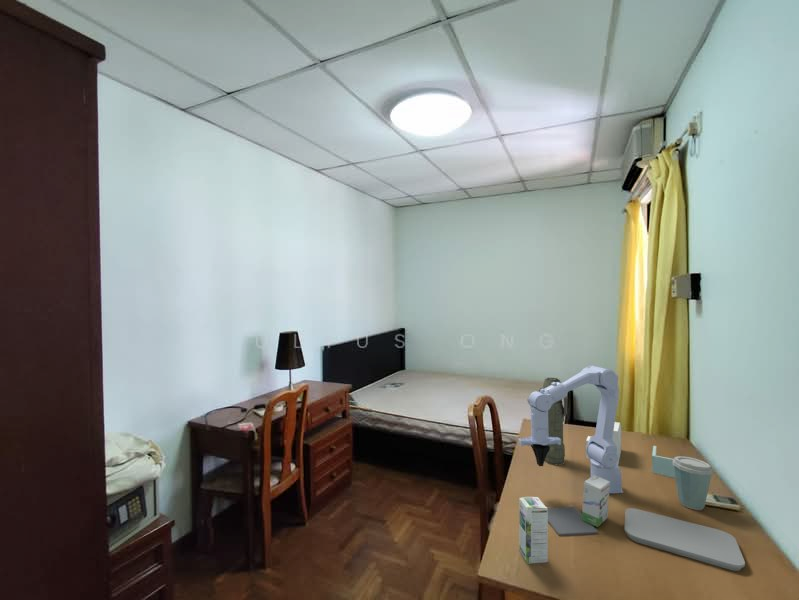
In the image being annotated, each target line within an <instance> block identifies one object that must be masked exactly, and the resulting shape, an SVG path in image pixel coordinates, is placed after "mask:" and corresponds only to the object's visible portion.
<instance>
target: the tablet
mask: <svg viewBox="0 0 799 600" xmlns="http://www.w3.org/2000/svg"><path fill="white" fill-rule="evenodd" d="M624 532H625V534H626V535H627V537H628V538H629V539H630V540H632V541H634V542H635V543H639V544H640V545H645V546H648V547H652V548H655V549H659V550H661V551H666V552H669V553H672V554H674V555H675V554H676V555H679V556H683V557H686V558H689V559H693V560H695V561H699V562H702V563H706V564H709V565H712V566H716V567H719V568H723V569H727V570H728V571H729V570H730V571H734V572H738V571H741V570H742V568H744V567H745V566H746V562H745V559H744V557H743V556H744V555H743V554H742V551H741V548H740V547H739V544H738V542H737V539H736V538H735V537H734V536H733V535H732V534H730V533H728V532H727V531H723V530H720V529H718V528H713V527H709V526H705V525H701V524H697V523H693V522H689V521H685V520H682V519H679V518H678V519H677V518H673V517H670V516H666V515H662V514H658V513H655V512H650V511H646V510H641V509H638V508H633V507H632V508H631V507H630V508H627V509H625V513H624Z"/></svg>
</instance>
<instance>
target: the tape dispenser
mask: <svg viewBox="0 0 799 600" xmlns="http://www.w3.org/2000/svg"><path fill="white" fill-rule="evenodd" d="M621 425H622V424H621V422H618V421H617V422H616V421H615V424H614V430H613V437H612V440H613V442H614V443H615V445H616V447H617V455H618V462H617V465H618V466H619V463H620V462H619V461H620V459H621V454H622V426H621ZM590 437H592V436H589V435H587V438H586V440H585V443H586V444H585V447H586V446H587V444H588V443H589V440H590ZM585 454H586V459H587V460H590V457H589V456H588V455H587V453H586V452H585Z"/></svg>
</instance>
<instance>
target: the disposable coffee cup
mask: <svg viewBox="0 0 799 600" xmlns="http://www.w3.org/2000/svg"><path fill="white" fill-rule="evenodd" d="M672 459H673V461H672V463H673V466H674V472H675V478H674V479H675V485H676V489H677V490H676V491H677V498H678V502H679V504H681V506H683V507H686V508H688V509H691V510H695V511H702V510H703V509H704V507H706V502H707V497H708V492H709V488H710V483H711V478H712V475H713V474H714V469H713V467H712V466H711V465H710V464H709V463H707V462H705V461H703V460H701V459H697V458H695V457H689V456H679V455H678V456H675V457H674V458H672Z"/></svg>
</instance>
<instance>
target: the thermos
mask: <svg viewBox="0 0 799 600" xmlns="http://www.w3.org/2000/svg"><path fill="white" fill-rule="evenodd" d="M553 382H555V383H556V382H559V383H562V381H561V380H560V379H559V378H558V377H557V378H556V377H546V378H545V379H544V381H543V384H542V387H540V389H544V388H546V387H548V386H550V385H552V384H551V383H553ZM540 389H539V390H538V392H539V391H540ZM568 399H569V397H568V394H567V396H566V397H565V398H563V399H561V400H559V401H557V402H555V403H553V404H552V406H551V408H550V409H549V410H548V437H558V438H560V439H561V445H558V444H548V446H549V447H550V450H549V452H548V453H547V455H546V458H545V461H544V463H546V462H547V464H549V463H550V464H549V465H553V464H557V465H556V466H559V464H562V465H564V464H565V463H564V462H565V457H566V449H565V448H566V445H565V443H564V422H565V417H566V416H567V415H568ZM563 463H564V464H563Z"/></svg>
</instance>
